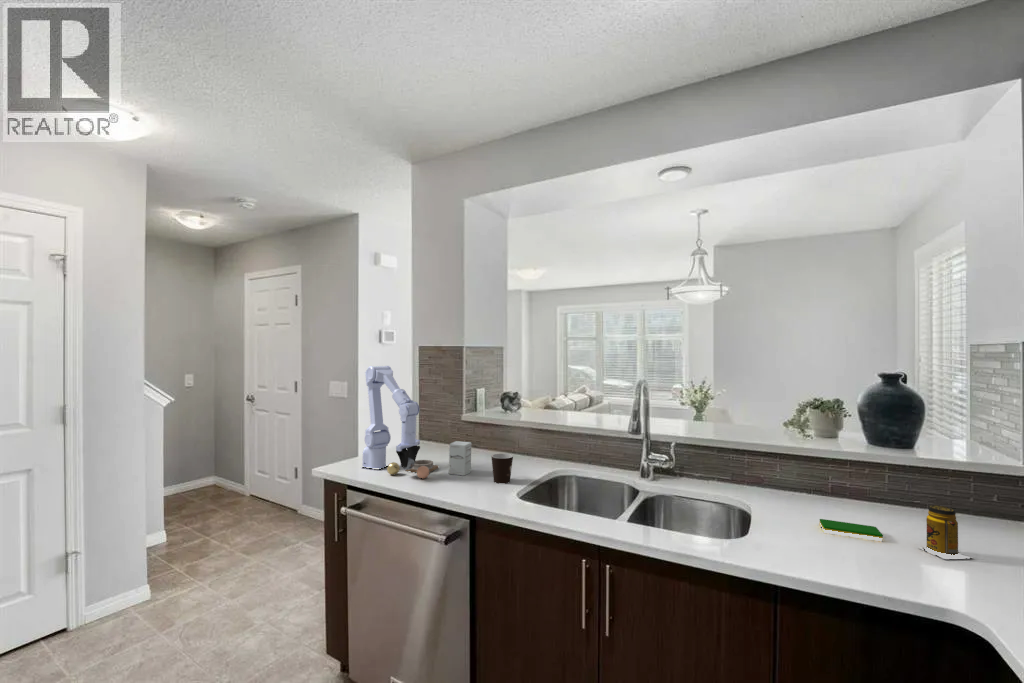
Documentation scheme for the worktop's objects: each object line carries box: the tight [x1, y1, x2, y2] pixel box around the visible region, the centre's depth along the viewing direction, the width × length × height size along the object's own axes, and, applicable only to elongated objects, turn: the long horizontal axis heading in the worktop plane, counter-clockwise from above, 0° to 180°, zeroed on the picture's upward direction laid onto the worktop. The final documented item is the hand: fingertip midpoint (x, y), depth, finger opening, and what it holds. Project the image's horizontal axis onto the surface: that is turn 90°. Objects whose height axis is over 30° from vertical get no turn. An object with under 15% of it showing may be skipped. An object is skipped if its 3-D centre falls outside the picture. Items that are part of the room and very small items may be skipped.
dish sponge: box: [819, 518, 884, 539], centre depth 132 cm, size 7×14×2 cm, turn 64°
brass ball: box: [386, 461, 401, 476], centre depth 187 cm, size 5×5×5 cm
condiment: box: [925, 504, 959, 555], centre depth 119 cm, size 7×8×12 cm
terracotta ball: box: [416, 466, 430, 480], centre depth 182 cm, size 5×5×5 cm
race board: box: [405, 459, 439, 473], centre depth 195 cm, size 10×10×3 cm
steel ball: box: [402, 457, 414, 471], centre depth 184 cm, size 5×5×5 cm
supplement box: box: [448, 440, 473, 476], centre depth 191 cm, size 7×7×13 cm
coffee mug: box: [490, 453, 514, 484], centre depth 181 cm, size 12×9×10 cm
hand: (408, 465), depth 184 cm, fingers closed on steel ball, 5 cm apart
